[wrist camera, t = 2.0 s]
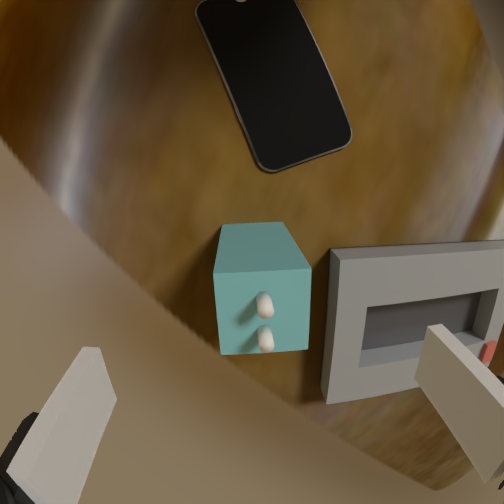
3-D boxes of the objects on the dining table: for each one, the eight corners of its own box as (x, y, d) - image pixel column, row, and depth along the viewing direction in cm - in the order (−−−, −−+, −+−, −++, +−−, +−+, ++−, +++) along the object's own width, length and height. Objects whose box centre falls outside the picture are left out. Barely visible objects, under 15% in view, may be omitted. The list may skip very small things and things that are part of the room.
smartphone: (283, -24, 18) (358, 143, 22) (282, -20, 19) (354, 143, 23) (189, 4, 19) (262, 177, 23) (190, 7, 19) (261, 176, 24)
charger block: (222, 224, 24) (210, 285, 13) (282, 221, 24) (318, 280, 13) (225, 280, 26) (219, 371, 15) (282, 277, 26) (313, 365, 15)
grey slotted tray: (329, 248, 25) (342, 262, 22) (504, 239, 26) (525, 249, 23) (319, 385, 29) (327, 408, 26) (476, 353, 30) (491, 368, 27)
